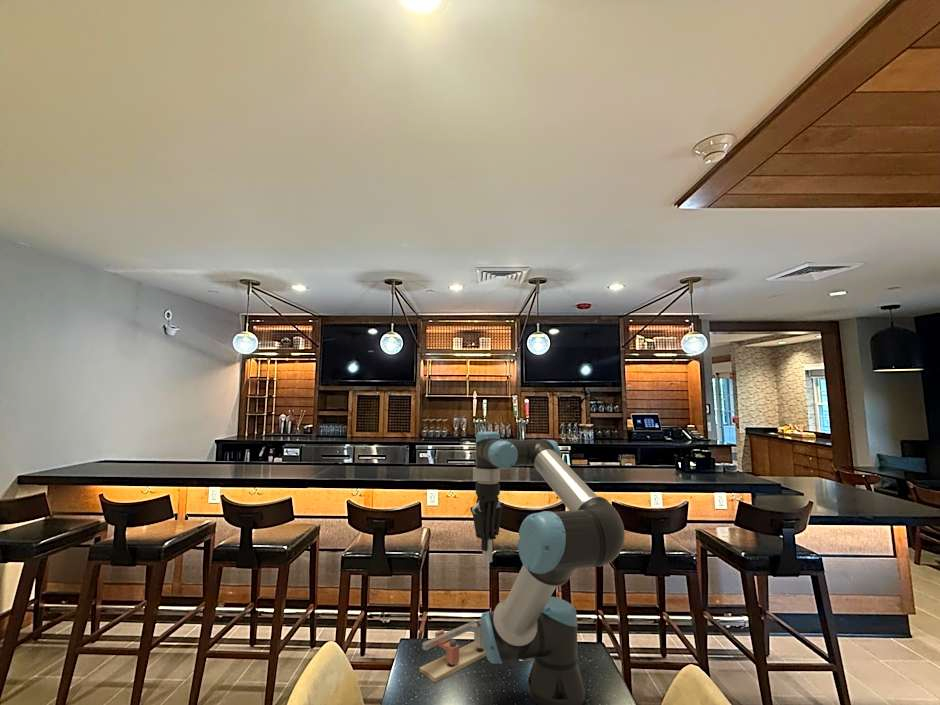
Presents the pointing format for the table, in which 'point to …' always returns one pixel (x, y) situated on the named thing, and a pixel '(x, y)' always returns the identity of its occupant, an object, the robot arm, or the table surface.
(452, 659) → the slide leg
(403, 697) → the table surface
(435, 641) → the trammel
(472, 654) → the bolt plate
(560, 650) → the robot arm
